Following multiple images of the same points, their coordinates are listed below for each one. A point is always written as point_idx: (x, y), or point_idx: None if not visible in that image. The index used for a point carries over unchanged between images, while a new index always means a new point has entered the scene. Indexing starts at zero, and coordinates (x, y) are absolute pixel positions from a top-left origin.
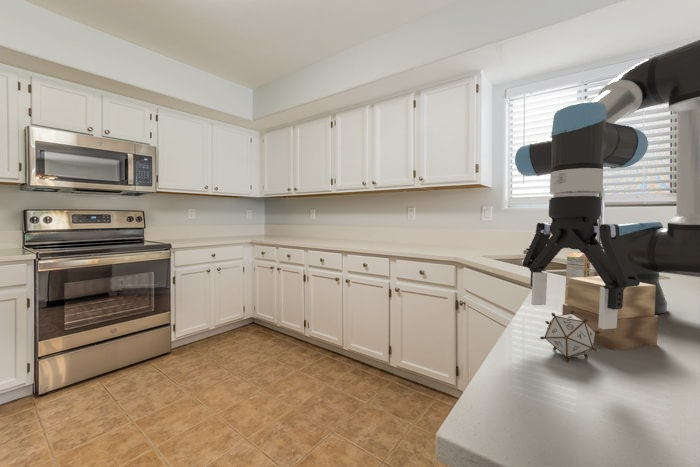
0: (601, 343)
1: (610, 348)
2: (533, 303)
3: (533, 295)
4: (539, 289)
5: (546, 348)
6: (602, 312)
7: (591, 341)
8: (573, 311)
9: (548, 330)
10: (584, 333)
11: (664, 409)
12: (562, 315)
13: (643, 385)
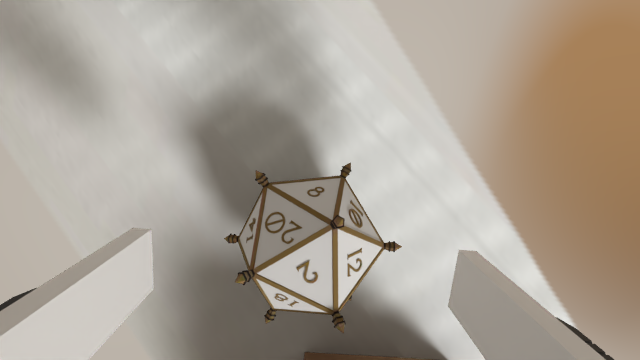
0: (332, 358)
1: (309, 353)
2: (467, 253)
3: (492, 273)
4: (498, 321)
5: (366, 208)
6: (91, 258)
7: (240, 248)
8: (334, 324)
9: (338, 188)
10: (247, 244)
11: (73, 179)
12: (331, 261)
13: (154, 240)
